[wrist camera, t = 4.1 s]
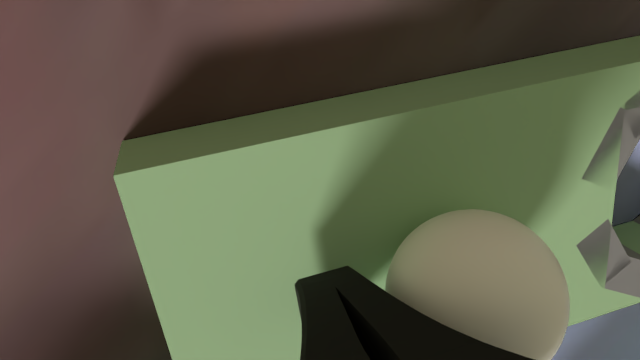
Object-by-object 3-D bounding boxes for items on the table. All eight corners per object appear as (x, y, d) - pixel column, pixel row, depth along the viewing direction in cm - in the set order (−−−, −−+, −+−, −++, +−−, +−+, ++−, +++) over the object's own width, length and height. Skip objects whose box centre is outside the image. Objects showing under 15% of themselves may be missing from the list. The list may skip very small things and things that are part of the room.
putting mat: (709, 225, 20) (778, 256, 18) (195, 382, 16) (200, 448, 14) (751, 12, 17) (841, 17, 15) (121, 141, 13) (112, 175, 10)
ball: (498, 295, 15) (606, 398, 11) (368, 335, 14) (438, 459, 10) (499, 167, 13) (625, 239, 10) (352, 204, 12) (430, 297, 9)
